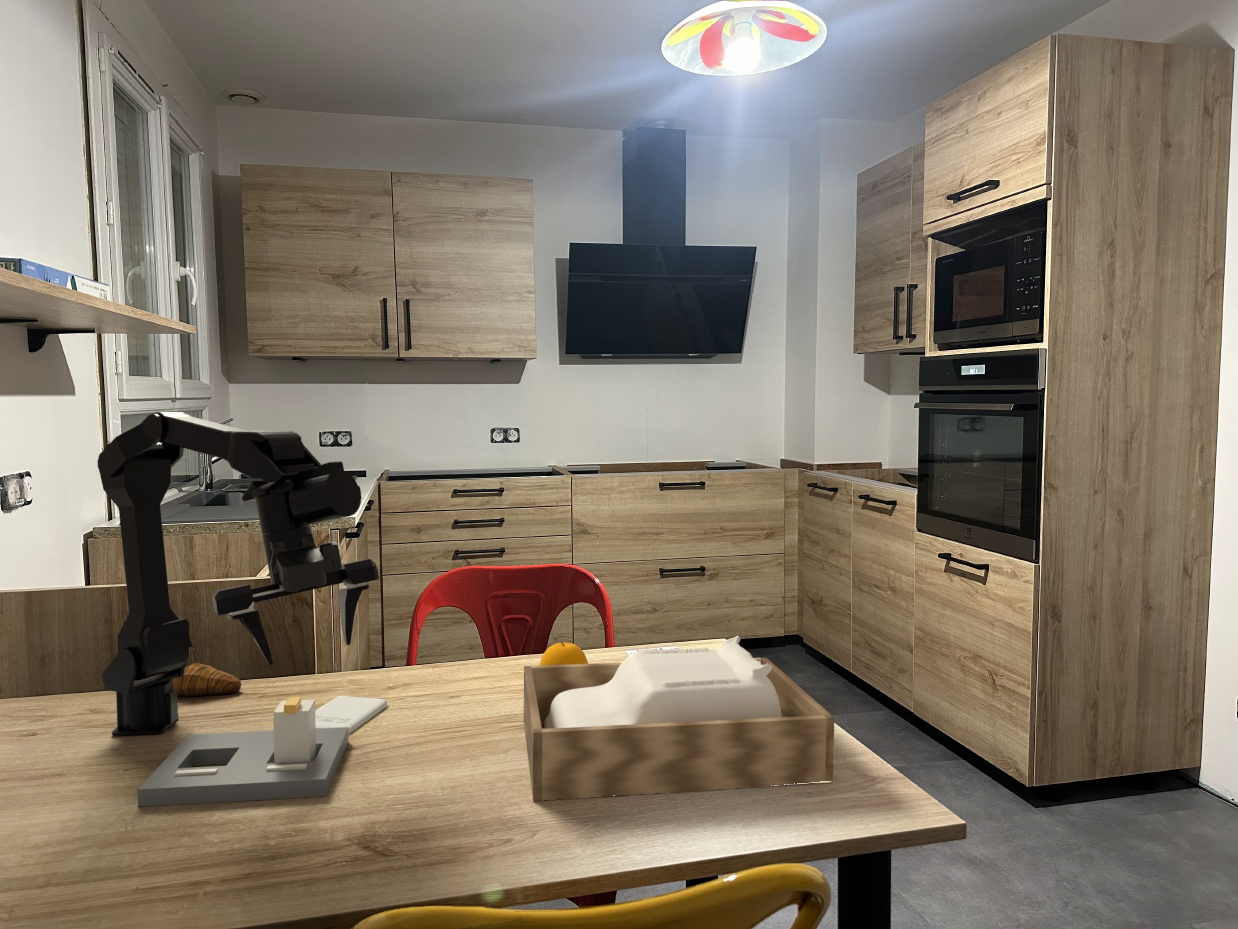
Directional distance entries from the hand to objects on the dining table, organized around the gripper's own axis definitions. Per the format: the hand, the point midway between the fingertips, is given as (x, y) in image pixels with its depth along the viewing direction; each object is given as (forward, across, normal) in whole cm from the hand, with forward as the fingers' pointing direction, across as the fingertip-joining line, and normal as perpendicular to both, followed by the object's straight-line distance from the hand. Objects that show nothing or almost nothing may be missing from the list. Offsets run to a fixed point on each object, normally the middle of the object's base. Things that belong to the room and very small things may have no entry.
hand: (310, 654), depth 103 cm
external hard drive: (+13, +5, +18) cm, 22 cm away
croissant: (+6, -12, +39) cm, 41 cm away
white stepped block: (+23, +38, -14) cm, 47 cm away
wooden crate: (+22, +39, -14) cm, 47 cm away
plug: (+14, -4, +3) cm, 14 cm away
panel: (+12, -8, +4) cm, 16 cm away
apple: (+17, +39, +14) cm, 45 cm away
